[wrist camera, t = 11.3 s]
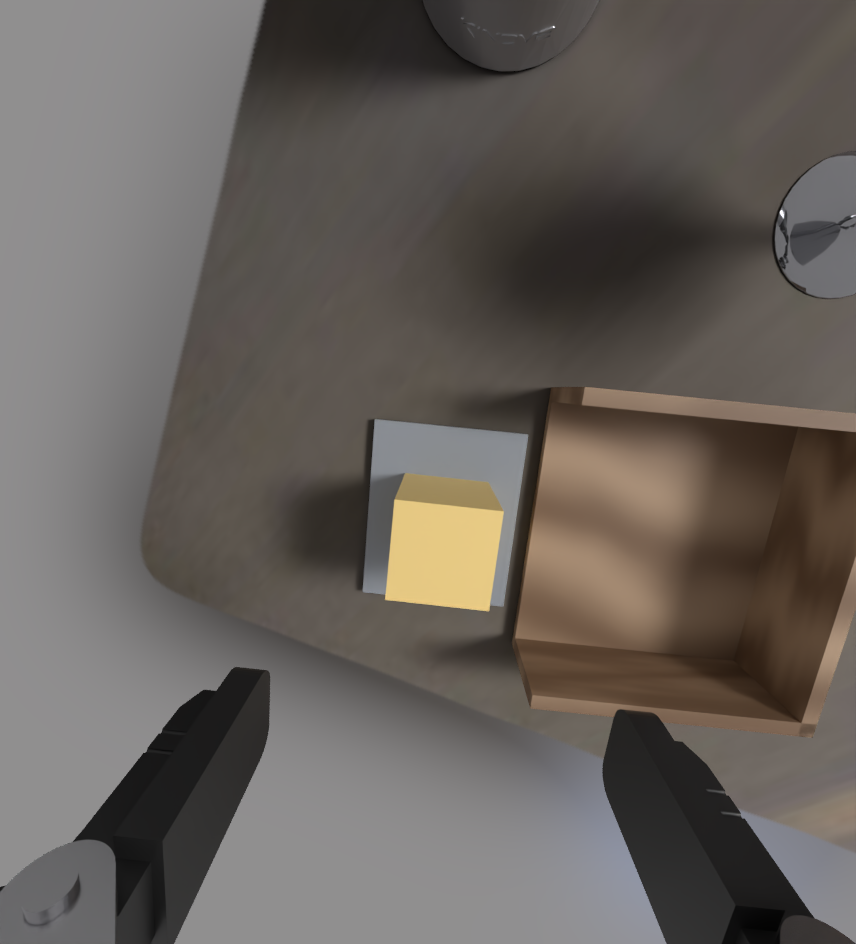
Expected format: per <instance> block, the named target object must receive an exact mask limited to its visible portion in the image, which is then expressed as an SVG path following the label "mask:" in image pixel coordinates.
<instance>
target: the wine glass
mask: <svg viewBox="0 0 856 944" xmlns="http://www.w3.org/2000/svg"><path fill="white" fill-rule="evenodd" d="M774 249H775V254H776V258H777V262H778V264H779V266H780V269H781V271H782V273H783V274H784V275H785V277H786V278H787V280H788V281H789V282H790V283H791V284H792V285H793V286H795V287H796V288H797V289H799V290H800V291H802V292H804V293H805V294H808V295H811V296H814V297H817V298H825V299H834V298H843V297H847V296H851V295H854V294H856V151H850V152H844V153H840V154H837V155H834V156H831V157H829V158H827V159H825V160H822V161H821V162H819V163H818V164H816V165H815V166H813V167H812V168H810V169H809V170H808V171H807V172H806V173H805V174H804V175H802V176H801V177H800V178H799V180H798V181H797V182H796V183H795V184H794V186H793V187H792V188H791V189H790V191H789V193H788V194H787V196H786V197H785V199H784V201H783V203H782V206H781V208H780V210H779V213H778V216H777V220H776V224H775V231H774Z"/></svg>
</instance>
